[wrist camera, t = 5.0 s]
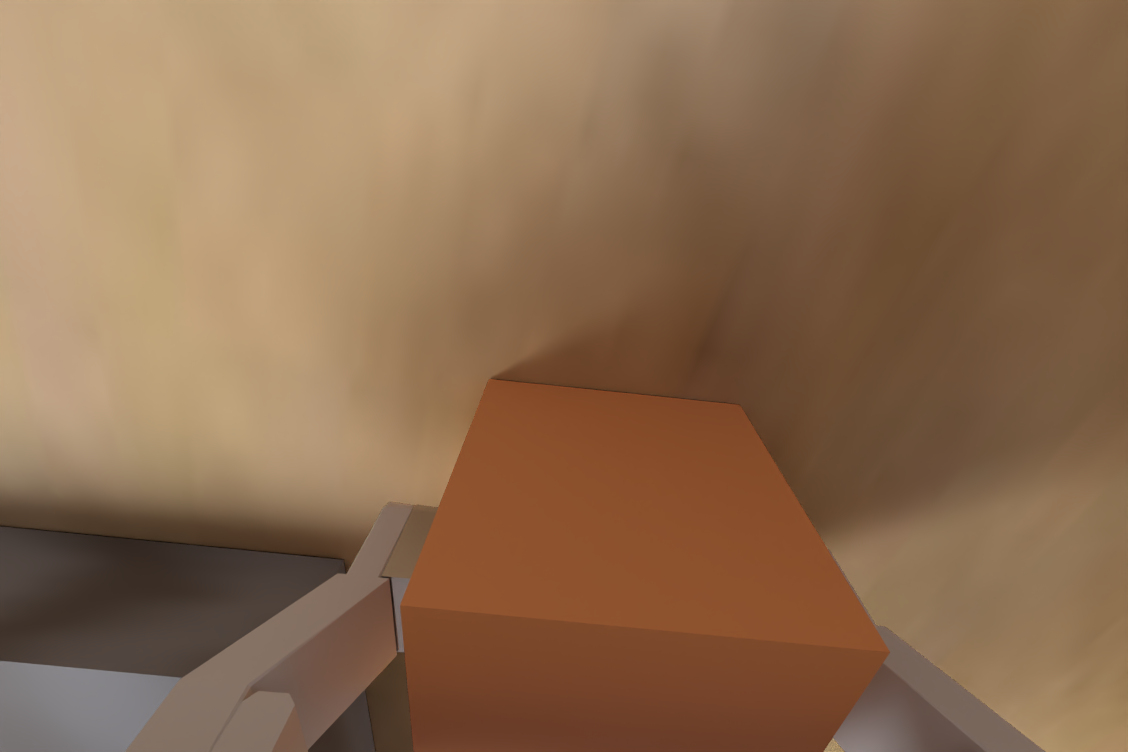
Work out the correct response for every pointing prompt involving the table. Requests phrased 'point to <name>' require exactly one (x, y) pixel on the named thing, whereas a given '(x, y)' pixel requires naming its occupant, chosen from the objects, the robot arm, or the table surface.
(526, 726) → the cube
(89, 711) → the stand
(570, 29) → the table surface
